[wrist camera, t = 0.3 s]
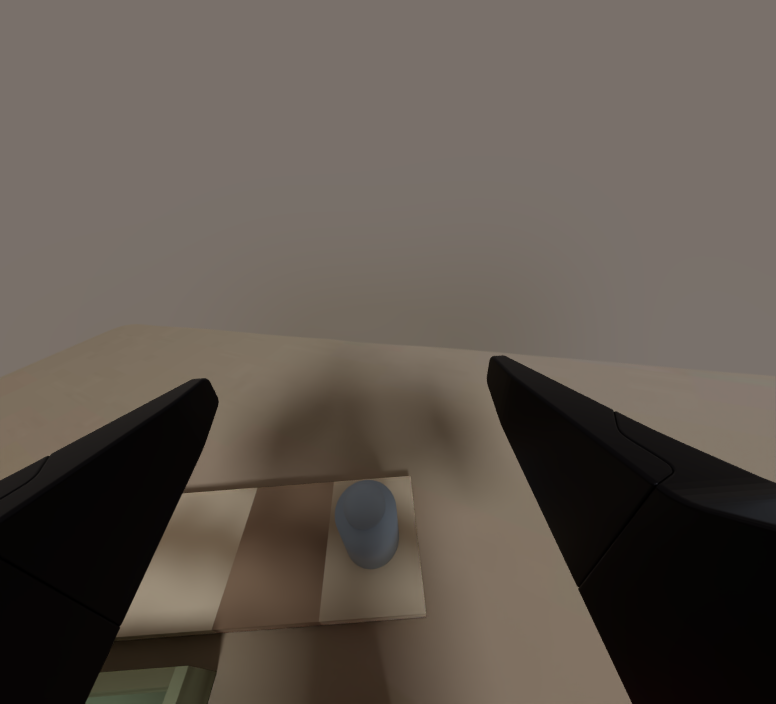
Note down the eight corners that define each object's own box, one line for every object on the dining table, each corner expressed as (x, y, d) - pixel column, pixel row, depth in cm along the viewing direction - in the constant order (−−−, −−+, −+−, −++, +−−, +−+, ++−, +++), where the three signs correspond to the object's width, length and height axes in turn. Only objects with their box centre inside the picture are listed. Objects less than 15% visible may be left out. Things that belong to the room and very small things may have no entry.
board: (425, 617, 16) (426, 613, 16) (12, 649, 16) (-3, 646, 16) (410, 482, 23) (410, 475, 22) (113, 505, 23) (105, 499, 22)
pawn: (401, 567, 17) (397, 529, 14) (343, 571, 17) (324, 534, 14) (397, 506, 20) (392, 462, 17) (347, 510, 20) (332, 466, 17)
